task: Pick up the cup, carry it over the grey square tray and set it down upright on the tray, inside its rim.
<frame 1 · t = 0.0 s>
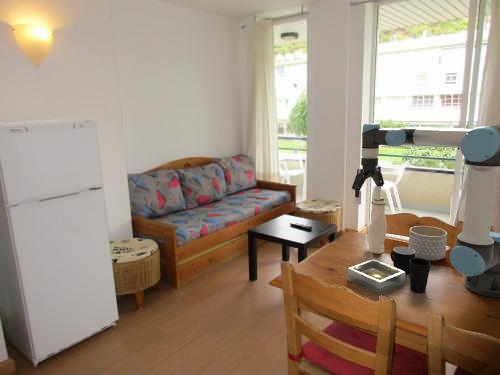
hand: (367, 201, 174), 28 cm above the table, fingers open, 13 cm apart
cup: (417, 290, 147), on the table
grey square tray: (375, 282, 154), on the table
planter: (426, 255, 180), on the table
mug: (400, 270, 164), on the table
water bottle: (375, 250, 188), on the table
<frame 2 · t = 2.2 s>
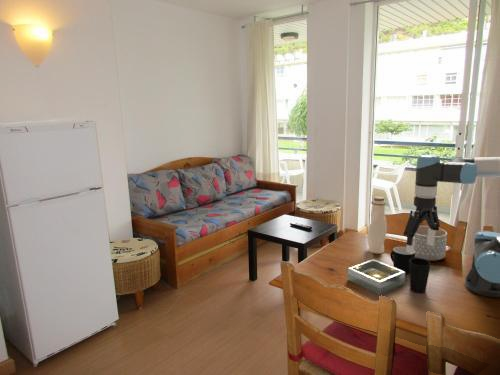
hand: (420, 248, 143), 17 cm above the table, fingers open, 13 cm apart
nothing on the table moved.
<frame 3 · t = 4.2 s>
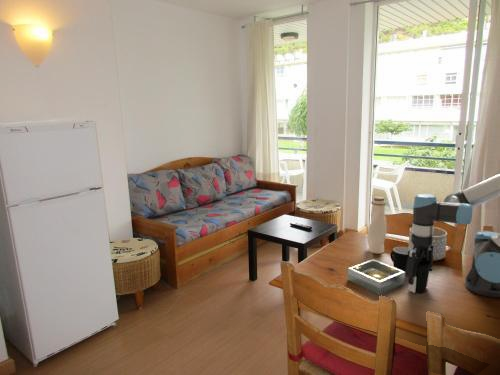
hand: (417, 288, 147), 1 cm above the table, fingers closed on cup, 8 cm apart
cup: (417, 290, 147), on the table, touching gripper
everything else where it was.
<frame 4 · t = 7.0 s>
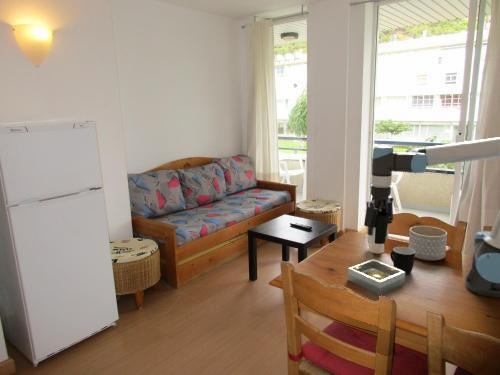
hand: (377, 240, 150), 19 cm above the table, fingers closed on cup, 8 cm apart
cup: (377, 242, 150), point 18 cm above the table, touching gripper
everything else where it was.
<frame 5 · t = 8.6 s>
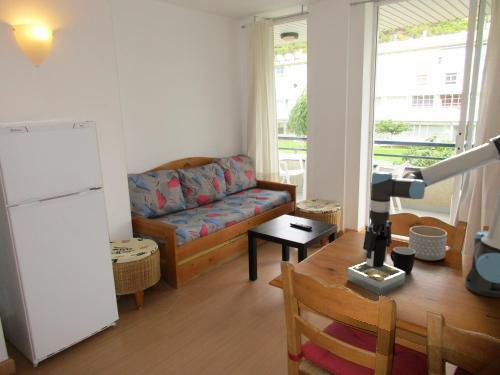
hand: (376, 262, 152), 9 cm above the table, fingers closed on cup, 8 cm apart
cup: (376, 264, 152), point 8 cm above the table, touching gripper
everything else where it was.
when the fingers open (5 cm above the table, at t = 9.8 s): cup drops 1 cm, resting on grey square tray.
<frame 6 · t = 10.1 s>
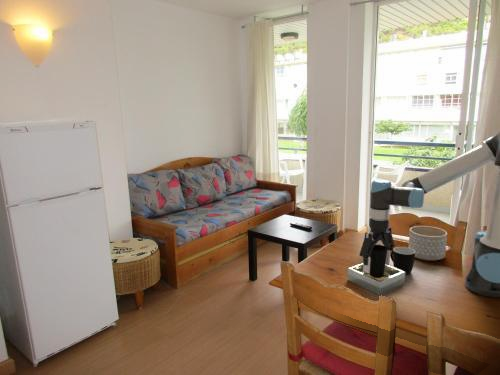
hand: (376, 268, 153), 6 cm above the table, fingers open, 12 cm apart
cup: (376, 275, 153), point 3 cm above the table, touching grey square tray
everything else where it was.
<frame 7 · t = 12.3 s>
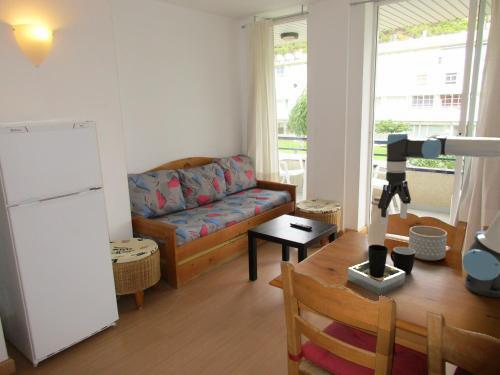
hand: (394, 221, 154), 25 cm above the table, fingers open, 13 cm apart
nothing on the table moved.
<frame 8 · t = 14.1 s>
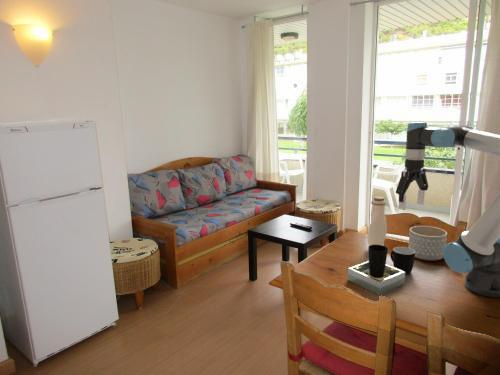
hand: (411, 206, 161), 29 cm above the table, fingers open, 13 cm apart
nothing on the table moved.
at the end: cup inside the target area on the grey square tray (0.2 cm from its centre), point 3.0 cm above the grey square tray's base; cup tilted 0°; the gripper is holding nothing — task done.
